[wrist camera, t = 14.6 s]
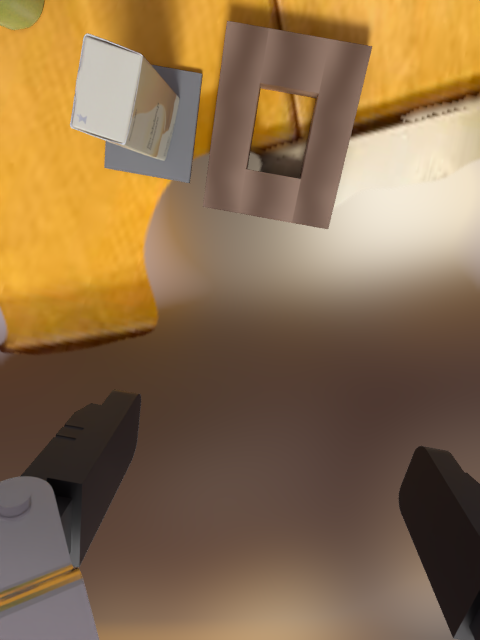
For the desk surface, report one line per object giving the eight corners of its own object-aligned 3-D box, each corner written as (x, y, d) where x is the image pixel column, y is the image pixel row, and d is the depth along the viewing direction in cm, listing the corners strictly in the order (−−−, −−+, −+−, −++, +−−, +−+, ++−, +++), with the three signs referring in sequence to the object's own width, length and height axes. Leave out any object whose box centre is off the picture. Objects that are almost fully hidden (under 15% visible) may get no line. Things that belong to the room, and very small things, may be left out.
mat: (202, 74, 37) (201, 73, 37) (189, 183, 40) (189, 183, 40) (111, 58, 37) (109, 57, 37) (106, 168, 40) (104, 167, 40)
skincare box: (166, 162, 39) (125, 151, 28) (125, 148, 39) (67, 132, 28) (182, 94, 37) (144, 52, 26) (139, 79, 37) (82, 30, 26)
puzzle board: (366, 54, 36) (372, 46, 34) (325, 227, 41) (328, 229, 39) (229, 29, 36) (227, 20, 34) (205, 205, 41) (202, 206, 39)
